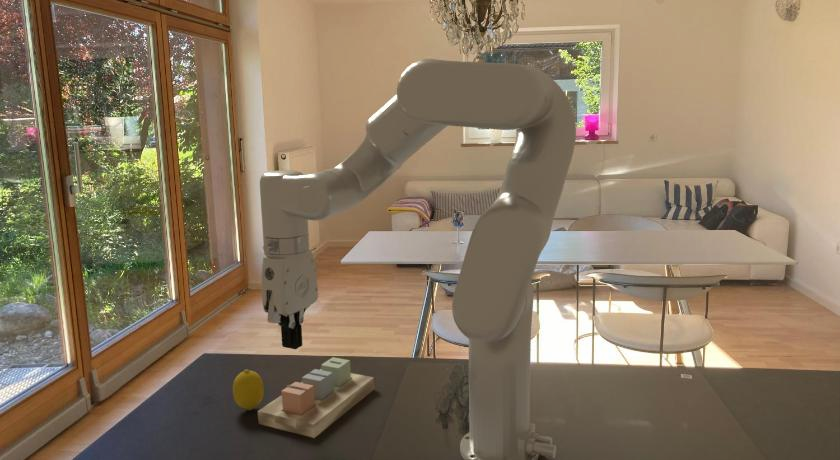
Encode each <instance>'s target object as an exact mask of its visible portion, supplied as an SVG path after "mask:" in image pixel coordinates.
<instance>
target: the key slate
mask: <svg viewBox="0 0 840 460" xmlns="http://www.w3.org/2000/svg"><path fill="white" fill-rule="evenodd" d="M301 382H302V383H304V384H309V385H313V386H314V399H315V400H320V401H322V400H324V399H325V398H326V397H328V396H329V395H330V394H332V393H333V392H334V388H333V372H328V371H323V370H320V369H317V368H313V369H312V370H311V371H310V372H308V373H307V374H305V375H304V376H301Z"/></svg>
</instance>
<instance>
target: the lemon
mask: <svg viewBox="0 0 840 460" xmlns="http://www.w3.org/2000/svg"><path fill="white" fill-rule="evenodd" d="M264 387H265V386H264V383H263V379H262V377H261V376H260V375H259V374H258V373H257V372H256V371H254V370H249V369H244V370H243V371H242V372H240V373H239V374H238V375H237V376H236V377H235V379H234V380H233V383H232V395H233V400H234V402H235V403H236V404H237V405H238V406H239V407H240V408H243V409H244V410H245V409H246V410H248V411H252V410H253V409H254V408H255V407H257V406H258V405H259V404H261V402H262V400H263V398H264V393H265V389H264Z"/></svg>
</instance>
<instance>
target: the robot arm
mask: <svg viewBox="0 0 840 460" xmlns="http://www.w3.org/2000/svg"><path fill="white" fill-rule="evenodd" d="M448 126H451V127H461V128H476V129H477V128H478V129H487V130H498V131H499V130H501V131H510V130H515V131H516V133H515V134H516V135H515V142H514V145H513V148H512V151H511V153H510V156H509V159H508V161H507V165H506V171H505V174H504V177H503V180H502V183H501V186H500V189H499V191H498V194H497V197H496V199H495V201H494V202H493V203H492V204H491V205H489V207H487V208H486V209H485V210H484V211H483V212H482V213H481V215H480V216H479V217H478V219H477V220H476V223H475V224H474V226H473V230H472V231H471V234H470V237H469V240H468V244H467V247H466V251H465V254H464V257H463V260H462V261H463V262H462V264H461V267H460V272H459V275H458V278H457V281H456V285H455V288H454V291H453V292H454V293H453V295H452V302H451V313H452V318H453V321H454V323H455V325H456V327H457V329H458V330H459V331H460V332H461V334H462V335H464V337H466V338H467V339H468V406H469V407H468V409H469V410H468V415H469V416H468V418H469V419H468V420H469V422H468V423H469V428H468V429H469V431H468V432H467V433H466V434H464V436H463V437H462V438H461V440H460V443H459V452H460V455H461V457H462V459H463V460H538V459H539V457H540V456H542V457H546V458H551V459H555V457H556V453H557V445H555V444H553V437H550V436H545V435H539V433H537V432H536V424H535V423H532V422H531V421H530V420H531V419H530V416H531V415H530V414H531V411H530V410H531V409H530V407H531V349H532V347H531V346H532V345H531V344H532V343H531V342H532V341H531V339H532V324H533V322H532V321H533V311H534V286H533V283H532V279H533V275H534V273H535V270H536V267H537V263H538V261H539V257H540V255H541V254H542V252H543V250H544V249H545V247H546V245H547V243H548V241H549V239H550V236H551V231H552V227H553V222H554V219H555V214H556V212H557V208H558V205H559V203H560V199H561V197H562V194H563V190H564V186H565V182H566V180H567V176H568V172H569V170H570V165H571V162H572V159H573V156H574V150H575V145H576V138H577V124H576V117H575V112H574V109H573V106H572V103H571V102H570V99H569V97H568V96H567V94H566V93H565V92H564V90H563V88H562V87H561V86H560V85H559V84H558V82H556V81H555V80H554V79H553V78H552V77H551V76H550V75H548V74H547V73H546V72H544V71H543V70H541V69H539V68H537V67H535V66H531V65H527V64H526V65H525V64H524V65H523V64H520V63H519V64H518V63H511V62H486V61H485V62H484V61H483V62H481V61H479V62H478V61H462V60H461V61H460V60H459V61H458V60H446V59H436V58H424V59H420V60H418V61H415V62H413V63H411V64H410V65H409V66H408V67H407V68H406V69H405V70H404V71H403V72H402V74H401V75H400V78H399V79H398V81H397V86H396V94H395V95H393V97H391V98H390V99H389V100H388V101H387V102H386V103H385V104H384V105H383V106H382V107H380V108H379V109H378V110H377V111H376V112H375V113H374V114H372V115H371V116H370V117H369V118H368V119H367V121H366V123H365V132H366V135H365V137H364V139H363V141H362V142H361V143H360V145H358V147H357V148H356V149H354V151H352V152H351V153H350V154H349V155H348V156H347V157H346V158H345V159H344V160H342V161H341V162H340V163H339V164H338V165H336V166H335V167H334V168H328V169H325V170H320V171H318V172H313V173H309V174H304V173H303V172H301V171H297V170H286V169H285V170H284V169H282V170H271V171H267V172H265V173H263V174H262V175H261V176H260V179H259V194H260V207H261V208H260V210H261V224H262V226H261V227H262V239H263V241H262V242H263V246H262V249H263V257H262V267H261V268H262V269H261V300H262V302H261V303H262V308H263V311H264V312H265V313H267V319H266V321H267V322H268V323H271V324H278V327H280V333H281V346H282V347H283V348H287V349H291V350H298V349H299V348H301V347H302V346H303V332H302V331H303V330H302V324H303V323H304V320H305V319H304V316H305V315H304V314H305V313H306V310H307V309H308V308H310V307H311V306H312V305H313V304H315V303H316V302H317V301H318V298H319V289H318V278H317V277H318V276H317V270H316V269H317V268H316V262H315V258H314V257H315V256H314V253H313V251H312V248H311V247H310V239H309V238H310V235H309V233H310V232H309V221H316V222H317V221H325V220H328V219H330V218H332V217H334V216H336V215H337V216H338V215H340V214H341V213H345V212H348V211H349V210H351V209H354V208H355V207H356V206H358V205H359V204H360V203H362V202H363V201H364V200H366V199H367V198H368V197H369V196H370V195H371V194H372V193H374V192H375V191H376V190H378V189H379V188H380V187H381V186H382V185H383V184H384V183H386V181H388V180H389V179H390V178H391V177H392V176H393V175H394V174H395V173H396V172H397V171H398V170H399V169H400V168H401V167H402V166H403V165H404V163H405V162H406V161H407V160H409V159H410V158H411V157H412V156H413V155H415V153H417V152H418V151H420V150H421V148H423V147H424V146H425V145H426V144H427V143H429V141H431V140H432V139H434V138H435V136H437V135H438V134H440V133H441V132H442V131H443V130H444V129H445V128H447V127H448Z"/></svg>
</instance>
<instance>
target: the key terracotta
mask: <svg viewBox="0 0 840 460" xmlns="http://www.w3.org/2000/svg"><path fill="white" fill-rule="evenodd" d="M280 393H281V395H282V405H283V411H284V412H288V413H292V414H296V415H300V416H302V415H303V414H305V413H306V412H307V411H309V410H310V409H311V408H313V407H314V406H315V400H314V386H313V385H309V384H304V383H301V382H299V381H294V382H292V384H287V385H286V386H285V388H283V389H282V390H281V392H280Z"/></svg>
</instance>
